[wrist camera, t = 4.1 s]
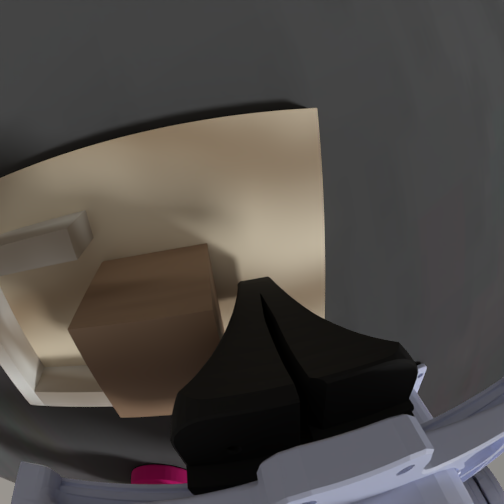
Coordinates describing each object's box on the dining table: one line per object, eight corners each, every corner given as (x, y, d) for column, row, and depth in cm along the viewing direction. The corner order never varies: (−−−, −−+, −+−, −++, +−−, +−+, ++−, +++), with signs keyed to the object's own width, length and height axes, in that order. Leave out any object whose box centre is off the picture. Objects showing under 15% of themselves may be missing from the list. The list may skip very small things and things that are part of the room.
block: (224, 330, 14) (236, 406, 10) (134, 343, 14) (120, 417, 10) (207, 243, 12) (212, 309, 8) (102, 261, 12) (67, 329, 8)
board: (317, 362, 18) (333, 399, 15) (61, 394, 16) (51, 428, 14) (308, 108, 11) (338, 108, 9) (-36, 194, 10) (-71, 214, 7)
